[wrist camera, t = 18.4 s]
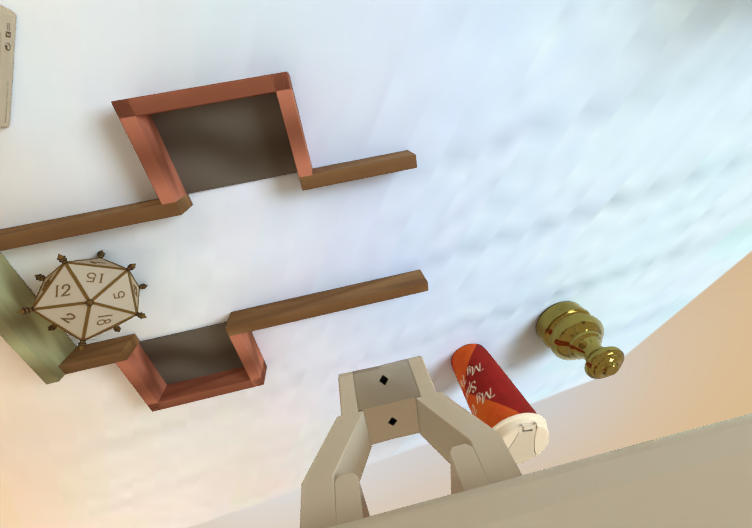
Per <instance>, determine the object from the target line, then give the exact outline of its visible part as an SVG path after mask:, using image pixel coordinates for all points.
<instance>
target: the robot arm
mask: <svg viewBox="0 0 752 528" xmlns="http://www.w3.org/2000/svg"><path fill="white" fill-rule="evenodd" d="M338 381H339V392H340V404H341V416H339V417H337V418H336V420H335V422H334V424H333V426H332V428H331V430H330V432H329V433H328V435H327V437H326V439H325V441H324V443H323V445H322V446H321V448H320V450H319V452H318V454H317V456H316V458H315V460H314V461H313V463H312V465H311V467H310V469H309V471H308V473H307V475H306V476H305V478H304V480H303V482H302V484H301V510H300V512H301V513H300V528H752V414H748V415H744V416H740V417H737V418H733V419H729V420H726V421H722V422H718V423H715V424H711V425H707V426H703V427H699V428H696V429H692V430H689V431H685V432H681V433H677V434H673V435H670V436H666V437H663V438H659V439H655V440H651V441H647V442H644V443H640V444H636V445H633V446H629V447H625V448H622V449H618V450H614V451H610V452H607V453H603V454H599V455H596V456H592V457H588V458H585V459H581V460H577V461H573V462H570V463H566V464H562V465H559V466H555V467H551V468H547V469H544V470H540V471H537V472H533V473H529V474H525V475H522V474H521V472H520V470H519V468H518V466H517V465H516V463H515V461H514V459H513V457H512V455H511V453H510V452H509V450H508V448H507V446H506V444H505V442H504V440H503V439H502V437H501V435H500V433H498V432H497V431H495V430H494V429H492V428H491V427H490V426H488V425H487V424H485V423H484V422H483V421H481V420H480V419H478V418H477V417H476V416H474V415H473V414H471V413H470V412H468V411H467V410H466V409H464V408H463V407H461V406H460V405H459V404H457V403H456V402H454V401H453V400H451V399H450V398H449V397H447V396H446V395H444V394H443V393H442V392H438V393H437V392H436V390H435V387H434V385H433V382H432V380H431V378H430V375H429V373H428V370H427V368H426V365H425V363H424V360H423V358H422V357H421V356H418V357H414V358H409V359H405V360H400V361H396V362H392V363H388V364H384V365H380V366H377V367H372V368H367V369H362V370H357V371H353V372H349V373H344V374H339V377H338ZM416 433H420V434H421V435H422V436H423V437H424V438H425V439H426V440H427V441H428V442H429V443H430V444H431V445H432V446H433V447H434V448H435V449H436V450H437V451H438V452H439V453H440V454H441V455H442V456H443V457H444V458H445V459H446V460H447V461H448V462H449V463H450V464H451V495H447V496H443V497H440V498H436V499H432V500H428V501H425V502H421V503H417V504H414V505H410V506H406V507H402V508H399V509H395V510H392V511H388V512H384V513H380V514H377V515H373V516H370V515H369V512H368V509H367V505H366V502H365V498H364V495H363V492H362V488H361V485H360V479H361V476H362V473H363V470H364V468H365V465H366V462H367V459H368V456H369V453H370V450H371V447H372V446H371V445H373V444H376V443H380V442H383V441H387V440H390V439H394V438H395V437H396V438H398V437H403V436H407V435H412V434H416Z"/></svg>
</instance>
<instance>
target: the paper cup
mask: <svg viewBox="0 0 752 528" xmlns="http://www.w3.org/2000/svg"><path fill="white" fill-rule="evenodd" d="M451 364H452V367H453V370H454V372H455V375H456V377H457V380H458V382H459V384H460V387H461V389H462V391H463V394H464V396H465V399H466V401H467V403H468V406H469V408H470V410H471V412H472V414H473V415H474V416H476V417H477V418H478V419H480V420H481V421H483V422H484V423H485V424H487V425H488V426H490V427H491V428H492V429H494V430H495V431H497V432H498V433H500V435H501V437H502V439H503V440H504V442H505V444H506V446H507V448H508V450H509V452H510V453H511V455H512V457H513V459H514V461H515V463H516V464H519V463H523V462H525V461H527V460H529V459H531V458H533V457H535V456H536V455H538V454H539V453H540V452H542V451H543V449H544V448H545V447H546V445H547V444H548V442H549V432H548V430H547V424H546V421H545V419H544V418H543V417H542V416H541V415H538V414H537V413H536V412H535V411H534V409H533V408H532V407H531V406H530V404H529V403H528V402H527V401H526V399H525V398H524V397H523V395H522V394H521V393H520V392H519V390H518V389H517V388H516V387H515V385H514V384H513V383H512V381H511V380H510V379H509V378H508V376H507V375H506V374H505V373H504V371H503V370H502V369H501V368H500V366H499V365H498V364H497V363H496V361H495V360H494V359H493V358H492V356H491V355H490V354H489V353H488V351H487V350H486V349H485V348H484V347H483V346H481V345H479V344H468V345H465V346H463V347H461V348H459V349H458V350H457V351H456V352H455V353H454V355H453V356H452V359H451ZM534 452H535V453H534Z"/></svg>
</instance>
